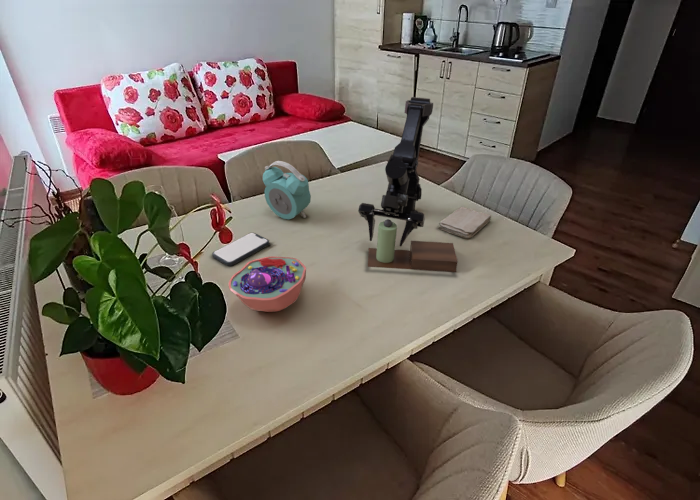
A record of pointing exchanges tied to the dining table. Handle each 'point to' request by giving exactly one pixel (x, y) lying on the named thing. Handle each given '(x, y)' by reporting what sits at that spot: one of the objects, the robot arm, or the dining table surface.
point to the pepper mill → (386, 241)
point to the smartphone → (240, 249)
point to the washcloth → (464, 222)
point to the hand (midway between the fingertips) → (385, 243)
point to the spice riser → (420, 257)
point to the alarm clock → (286, 191)
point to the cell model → (269, 283)
